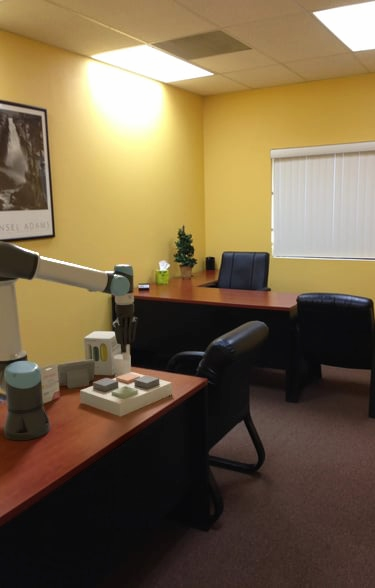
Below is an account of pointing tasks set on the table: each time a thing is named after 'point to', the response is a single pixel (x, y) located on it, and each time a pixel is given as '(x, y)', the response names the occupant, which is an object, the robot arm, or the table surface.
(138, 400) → the keypad
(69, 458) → the table surface
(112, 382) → the charcoal key
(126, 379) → the key terracotta
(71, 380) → the digital clock
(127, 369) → the white cup
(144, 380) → the charcoal key
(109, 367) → the supplement box
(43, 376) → the ink cartridge box
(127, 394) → the key green
